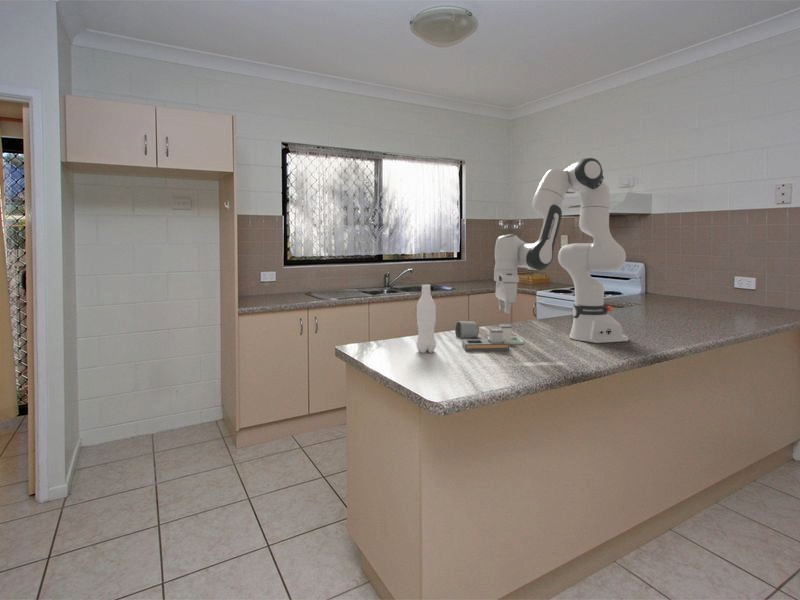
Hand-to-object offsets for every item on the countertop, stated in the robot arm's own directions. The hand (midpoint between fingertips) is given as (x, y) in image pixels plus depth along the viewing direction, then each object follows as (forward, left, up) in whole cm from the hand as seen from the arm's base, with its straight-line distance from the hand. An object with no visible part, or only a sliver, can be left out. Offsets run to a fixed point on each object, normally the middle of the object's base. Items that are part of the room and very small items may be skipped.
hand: (504, 311), depth 193 cm
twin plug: (+6, +11, -12) cm, 17 cm away
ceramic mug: (+14, -12, -13) cm, 22 cm away
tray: (0, 0, -13) cm, 13 cm away
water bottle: (+32, +11, -13) cm, 36 cm away
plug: (0, 0, -13) cm, 13 cm away
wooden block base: (+10, +11, -13) cm, 19 cm away
